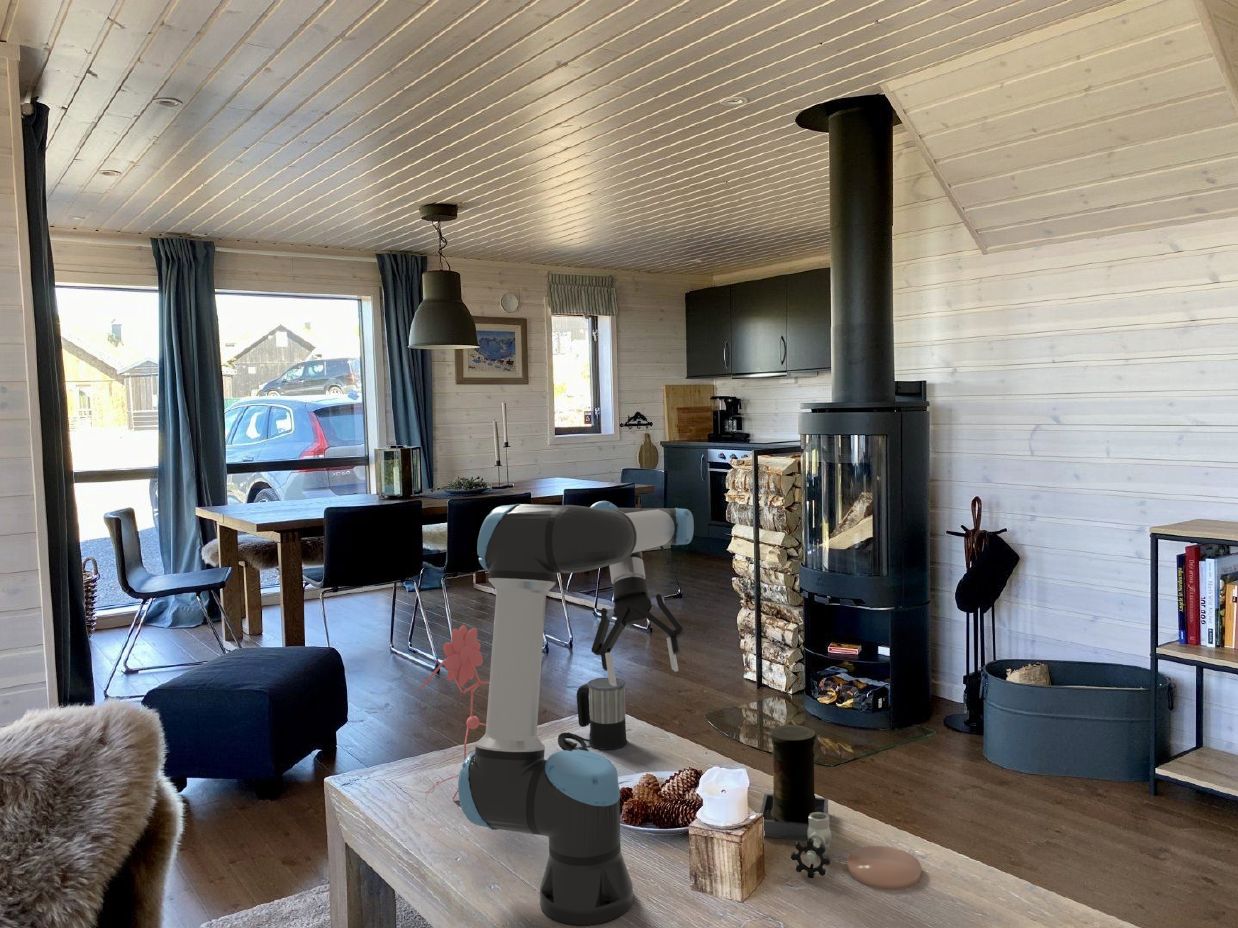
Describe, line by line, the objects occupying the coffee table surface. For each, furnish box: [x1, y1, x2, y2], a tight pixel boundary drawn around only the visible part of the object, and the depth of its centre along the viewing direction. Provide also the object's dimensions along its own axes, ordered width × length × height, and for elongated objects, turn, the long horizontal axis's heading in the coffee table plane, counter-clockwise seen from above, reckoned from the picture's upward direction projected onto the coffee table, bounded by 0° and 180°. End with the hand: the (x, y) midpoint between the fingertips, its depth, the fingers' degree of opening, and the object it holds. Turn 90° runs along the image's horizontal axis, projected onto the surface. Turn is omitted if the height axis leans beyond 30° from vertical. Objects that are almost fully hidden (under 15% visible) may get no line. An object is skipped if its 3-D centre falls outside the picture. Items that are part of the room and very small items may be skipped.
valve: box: [790, 812, 832, 879], centre depth 163 cm, size 7×7×12 cm
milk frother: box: [557, 676, 628, 751], centre depth 221 cm, size 14×16×15 cm
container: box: [769, 724, 817, 823], centre depth 177 cm, size 9×9×18 cm
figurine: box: [418, 624, 490, 802], centre depth 199 cm, size 15×26×35 cm, turn 148°
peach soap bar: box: [846, 845, 922, 890], centre depth 159 cm, size 12×12×2 cm
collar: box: [759, 793, 829, 842], centre depth 177 cm, size 12×12×3 cm
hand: (643, 677), depth 193 cm, fingers open, 13 cm apart
